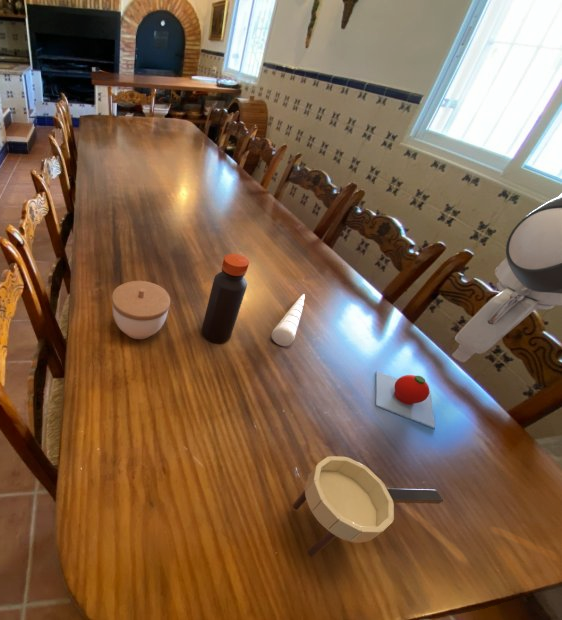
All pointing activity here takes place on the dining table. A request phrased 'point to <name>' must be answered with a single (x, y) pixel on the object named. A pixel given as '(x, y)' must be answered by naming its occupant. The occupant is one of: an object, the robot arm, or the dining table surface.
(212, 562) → the dining table surface
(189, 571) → the dining table surface
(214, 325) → the bottle
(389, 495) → the pan
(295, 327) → the unicorn horn
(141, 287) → the lidded bowl
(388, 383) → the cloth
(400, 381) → the tomato
